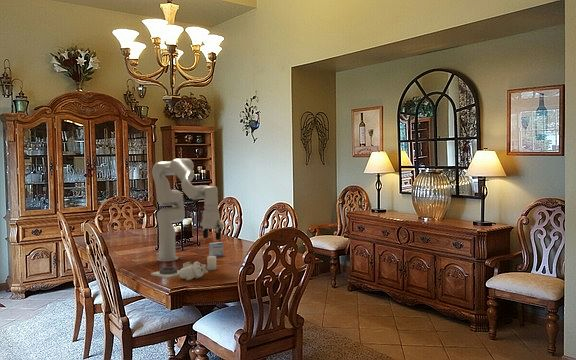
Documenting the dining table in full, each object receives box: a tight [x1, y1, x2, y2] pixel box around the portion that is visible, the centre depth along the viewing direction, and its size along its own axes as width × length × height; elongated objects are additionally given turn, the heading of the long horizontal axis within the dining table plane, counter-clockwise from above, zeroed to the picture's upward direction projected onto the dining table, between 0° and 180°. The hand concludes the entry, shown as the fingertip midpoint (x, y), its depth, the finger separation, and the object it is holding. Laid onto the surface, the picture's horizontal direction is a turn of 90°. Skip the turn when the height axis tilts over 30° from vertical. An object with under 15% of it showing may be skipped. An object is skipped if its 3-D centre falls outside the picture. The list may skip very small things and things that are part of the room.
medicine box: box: [208, 241, 224, 258], centre depth 321 cm, size 8×4×9 cm, turn 126°
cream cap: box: [206, 255, 217, 271], centre depth 286 cm, size 5×5×7 cm
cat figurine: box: [178, 261, 209, 282], centre depth 265 cm, size 10×8×15 cm
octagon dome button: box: [150, 266, 181, 279], centre depth 275 cm, size 13×13×3 cm
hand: (211, 238), depth 285 cm, fingers open, 9 cm apart
